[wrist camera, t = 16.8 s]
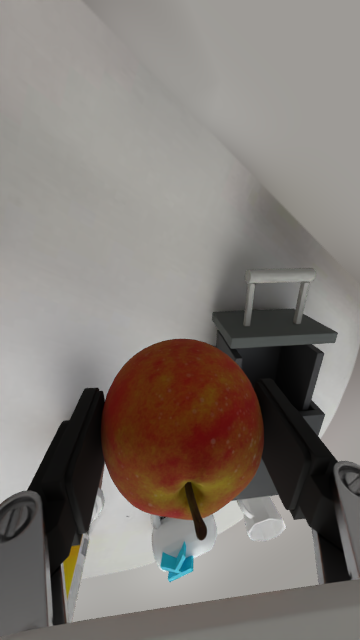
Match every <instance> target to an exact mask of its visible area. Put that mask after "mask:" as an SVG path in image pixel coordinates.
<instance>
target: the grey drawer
mask: <svg viewBox="0 0 360 640" xmlns="http://www.w3.org/2000/svg"><path fill="white" fill-rule="evenodd" d="M315 277H316V271H315V270H314V269H313V268H297V269H249V270H247V271H246V275H245V280H246V282H247V283H248V287H247V296H246V304H245V311H225V312H213V313H212V321H213V322H214V324H215V325H216V327H217V328H218V330H217V341H216V348H218V349H219V350H221V351H222V352H224V353H225V354H227V355H228V356H229V357H230V358H231V359H232V360H233V361H235V362H236V363H237V364H238V365H239V367H240V368H241V369H242V370H243V372H244V373H245V375H246V376H247V377H248V379H249V381H250V382H251V384H252V387H253V389H254V385H255V383H256V382H258V380H259V379H272V380H273V381H274V382H275V383H276V385H277V386H278V387H279V388H280V390H281V391H282V392H283V394H284V395H285V396H286V397H287V399H288V400H289V401H290V403H291V404H292V405H293V406H294V407H295V408H296V409H297V410H298V411H308V409H309V406H310V402H311V399H312V395H313V392H314V388H315V385H316V381H317V377H318V374H319V370H320V367H321V363H322V360H323V356H324V353H323V352H322V351H321V350H319V349H318V348H316V347H315V346H314V345H312V344H322V343H335V341H336V337H337V334H338V333H337V332H335V331H334V330H332V329H330V328H328V327H326V326H324V325H323V324H321V323H319V322H317V321H315V320H313V319H312V318H310V317H308V316H306V315H304V314H303V311H304V306H305V302H306V297H307V293H308V288H309V284H310V282H311V281H313V280H314V279H315ZM280 282H301V286H300V290H299V295H298V300H297V305H296V310H295V309H275V310H252V306H253V298H254V290H255V283H280Z"/></svg>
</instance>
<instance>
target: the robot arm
mask: <svg viewBox="0 0 360 640" xmlns="http://www.w3.org/2000/svg"><path fill="white" fill-rule="evenodd" d="M254 391H255V393H256V396H257V398H258V401H259V405H260V409H261V413H262V418H263V425H264V447H263V453H262V457H261V458H262V460H263V462H264V464H265V466H266V468H267V471H268V473H269V475H270V477H271V479H272V481H273V484H274V486H275V488H276V490H277V492H278V494H279V497H280V499H281V501H282V503H283V505H284V507H285V508H286V509H287V510H290V512H291V514H292V516H293V518H294V520H296V519H306V520H307V523H308V524H309V526H310V527H311V528H312V534H313V542H314V550H315V558H316V566H317V574H318V582H319V585H315V586H308V587H301V588H294V589H287V590H280V591H273V592H266V593H259V594H252V595H246V596H240V597H233V598H226V599H219V600H212V601H206V602H199V603H193V604H186V605H179V606H173V607H166V608H160V609H154V610H147V611H141V612H134V613H128V614H122V615H115V616H109V617H102V618H96V619H89V620H83V621H78V622H73V623H69V613H68V604H67V595H66V585H65V576H64V566H63V562H64V561H65V560H66V559H67V558H68V556H69V554H70V550H71V547H72V546H77V545H80V543H81V539H82V535H83V533H87V532H88V530H89V526H90V522H91V518H92V513H93V509H94V505H95V500H96V496H97V492H98V487H99V483H100V479H101V474H102V470H103V466H104V461H105V460H104V456H103V450H102V444H101V419H102V412H103V407H104V404H105V400H104V394H103V391H99V389H98V388H85V389H84V391H83V393H82V395H81V397H80V399H79V401H78V404H77V406H76V408H75V410H74V412H73V414H72V416H71V419H70V420H68V421H63V422H62V423H61V425H60V426H59V428H58V430H57V432H56V434H55V436H54V438H53V440H52V442H51V444H50V446H49V448H48V450H47V452H46V454H45V456H44V458H43V460H42V462H41V464H40V466H39V468H38V470H37V472H36V474H35V476H34V478H33V480H32V482H31V484H30V486H29V488H28V490H27V491H22V492H19V493H17V494H14V495H12V496H11V497H9V498H8V499H6V500H5V501H3V502H2V503H1V504H0V640H360V465H357V464H355V463H353V462H349V461H339V462H338V461H337V460H336V459H335V457H334V456H333V455H332V454H331V452H330V451H329V450H328V449H327V447H326V446H325V445H324V443H323V442H322V441H321V440H320V438H319V437H318V436H317V434H316V433H315V432H314V431H313V429H312V428H311V427H310V425H309V424H308V423H307V422H306V420H305V419H304V418H303V417H302V415H301V414H300V413H299V411H298V410H297V409H296V408H295V407H294V406H293V405H292V404H291V403H290V401H289V400H288V399H287V397H286V396H285V395H284V394H283V392H282V391H281V390H280V388H279V387H278V386H277V385H276V383H275V382H274V381H273V380H272V379H259V380H258V382H256V383H255V385H254Z"/></svg>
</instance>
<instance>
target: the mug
mask: <svg viewBox="0 0 360 640" xmlns="http://www.w3.org/2000/svg"><path fill="white" fill-rule="evenodd" d="M202 519H203V521H204V523H205V525H206V527H207V535H206V538H205V539H204V540H202V541H201V540H199V539H198V538H197V536H196V532H195V526H194V522H193V520H183V519H176V518H169V517H166V518H164V519H162V520H160V516H157V515H153V514H151V522H152V526H153V530H152V548H153V553H154V557H155V560H156V562H157V565H158V566H159V568H160V569H161V570H162V571H164V572H165V571H169V574H168V580H169V582H171V581H173V580H176V579H178V578H180V577H181V576H184V575H186V574H188V573H190V572H192V571H193V559H194V558H196V557H198V556H200V555H202V554H204V553H207V552H209V551H210V550H211V549H212V548H213V546H214V544H215V541H216V537H217V527H216V522H215V519H214V516H213V514H211V515H209V516H208V517H205V518H202Z"/></svg>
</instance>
